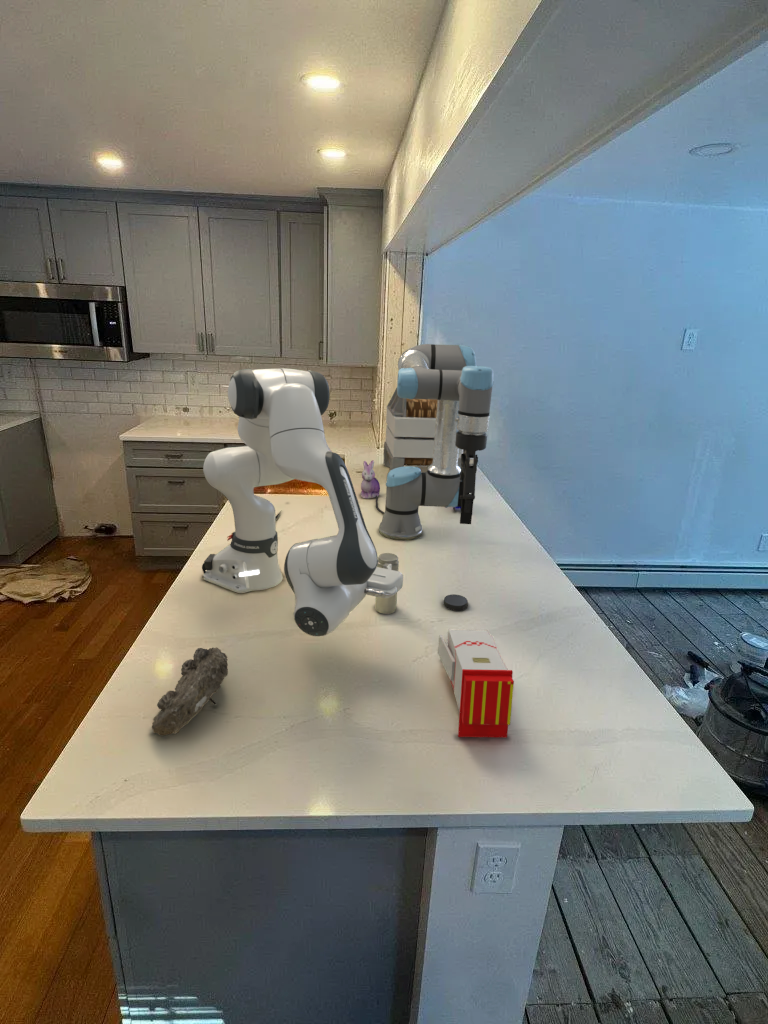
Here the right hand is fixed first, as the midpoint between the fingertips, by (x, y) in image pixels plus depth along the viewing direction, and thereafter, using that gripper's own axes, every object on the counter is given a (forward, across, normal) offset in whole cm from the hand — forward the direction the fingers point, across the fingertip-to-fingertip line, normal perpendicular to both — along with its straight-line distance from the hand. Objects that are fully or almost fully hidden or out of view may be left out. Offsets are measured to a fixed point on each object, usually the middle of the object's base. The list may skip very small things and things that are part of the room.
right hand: (463, 514), depth 145 cm
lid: (+25, 0, 0) cm, 25 cm away
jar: (+26, +5, -18) cm, 32 cm away
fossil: (+26, +48, -52) cm, 76 cm away
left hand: (+7, +17, -22) cm, 29 cm away
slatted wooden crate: (+26, -128, -13) cm, 132 cm away
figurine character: (+26, -81, +3) cm, 85 cm away
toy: (+26, +37, +2) cm, 45 cm away
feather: (+26, -59, -64) cm, 90 cm away
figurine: (+26, -88, -33) cm, 98 cm away
